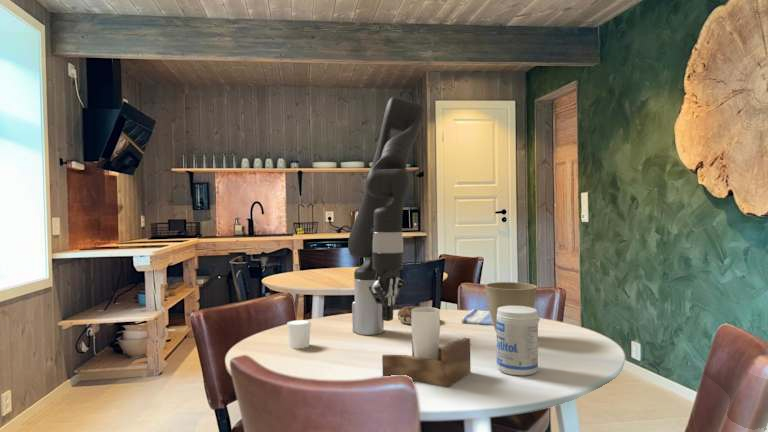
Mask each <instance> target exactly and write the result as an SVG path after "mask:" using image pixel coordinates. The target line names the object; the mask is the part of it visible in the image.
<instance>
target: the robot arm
mask: <svg viewBox="0 0 768 432" xmlns="http://www.w3.org/2000/svg"><path fill="white" fill-rule="evenodd" d="M424 115H425V109H424V106H423V105H422V104H420V103H418V102H415V101H412V100H409V99H406V98H402V97H398V96H392V97H390V98H389V100H388V102H387V103H386V107H385V110H384V114H383V119H382V124H381V128H380V132H379V133H380V134H379V138H378V142H377V147H376V150H375V154H374V157H373V160H372V164H371V167H370V170H369V172H368V173H367V176H366V179H365V180H366V181H365V189H364V192H363V197H362V199H361V203H360V205H359V206H360V207H359V209H358V213H357V215H356V218H355V220H354V222H353V225H352V228H351V230H350V233H349V236H348V244H347V245H348V246H347V248H348V252H349V254H350V255H351V256H352V257H353V258H357V259H360V258H361V259H363V258H365V260H364V262H363V264H362V265H360V266H359V267H357V268H356V269H355V270H354V272H353V273H354V274H353V275H354V276H353V279H354V282H353V283H354V301H352V304H351V312H352V313H351V314H352V315H351V316H352V318H351V321H352V322H351V323H352V333H353V332H354V333H355V334H358V335H362V336H364V335H365V336H371V335H372V336H373V335H380V334H382V333H384V330H385V329H384V328H385V325H384V321H385V322H390V321H393V320H394V305H395V303H396V302H399V300H400V297H401V295H402V292H403V290H404V287H405V284H406V280H405V279H401V278H400V275H401V274H400V271H401V270H403V268H404V239H403V213H404V207H405V202H406V198H407V196H408V192H409V189H410V177H409V174H408V172H407V171H406V169H407V164H408V161H409V157H410V156H409V155H410V154H411V150H412V148H413V146H414V143H415V141H416V138H417V136H418V134H419V132H420V129H421V127H422V124H423V119H424ZM392 130H394V131H397V132H400V133H398V134H397V135H394V136H393V137H392ZM392 199H393V200H392ZM391 201H392V202H391ZM390 202H391V204H390Z"/></svg>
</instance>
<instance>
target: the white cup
mask: <svg viewBox="0 0 768 432" xmlns="http://www.w3.org/2000/svg"><path fill="white" fill-rule="evenodd" d="M311 323H312V322H311V320H307V319H295V320H290V321H287V322H286V329H287V337H288V342H289V343H288V344H289V345H288V346H289V348H291V349H295V350H297V349H299V350H300V348H301V349H306V348H308V347H309V346H310V341H311V340H310V338H311V325H312V324H311ZM305 347H306V348H305Z"/></svg>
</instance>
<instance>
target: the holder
mask: <svg viewBox="0 0 768 432" xmlns="http://www.w3.org/2000/svg"><path fill="white" fill-rule="evenodd" d="M411 351H412V352H411V353H412V354H411V355H408V354H382V358H381V359H382V360H381V361H382V377H383V376H391V375H407V376H409V377H411V378H412V379H413V380H414V381H413V380H412V381H413V382H418V383H422V384H423V383H425V384H430V385H434V386H439V387H444V388H449V387H451V386H452V385H454V384H455V383H457V382H459V380H462V378H464V377H466V376H467V375H469V374H470V373H471V338H469V337H462V338H456V339H455V340H453V341H451V342H449V343H447V344H445V345H444V346H439V349H438V360H432V359H426V358H420V357H414V348H413V340H412V341H411Z"/></svg>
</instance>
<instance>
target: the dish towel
mask: <svg viewBox="0 0 768 432" xmlns="http://www.w3.org/2000/svg"><path fill="white" fill-rule="evenodd" d="M461 323H462V324H465V325H466V324H467V325H469V324H470V325H477V324H479V326H489V325H492V327H494V324H493V321H492V318H491V314H490V310H480V309H479V310H478V309H475V308H473V309H471V310H469V312H467V313H466V314H465V315H463V317H462V318H461Z"/></svg>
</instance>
